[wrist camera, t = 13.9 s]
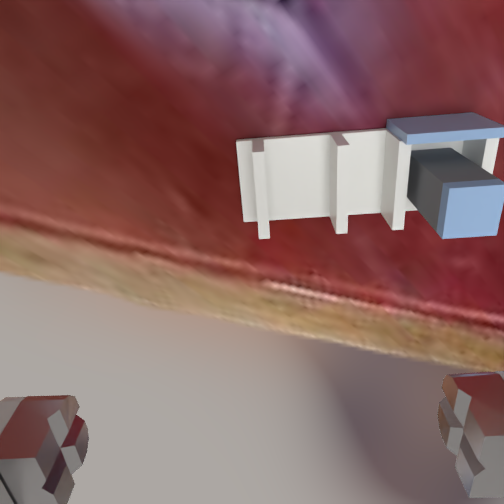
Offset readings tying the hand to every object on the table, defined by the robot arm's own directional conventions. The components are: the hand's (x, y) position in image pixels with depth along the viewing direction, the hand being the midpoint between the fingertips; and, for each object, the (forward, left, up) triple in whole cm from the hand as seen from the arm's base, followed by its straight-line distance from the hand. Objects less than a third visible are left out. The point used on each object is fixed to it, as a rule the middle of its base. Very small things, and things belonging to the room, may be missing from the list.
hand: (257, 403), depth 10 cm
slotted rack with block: (+10, -6, -33) cm, 35 cm away
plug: (+15, -6, -32) cm, 36 cm away
